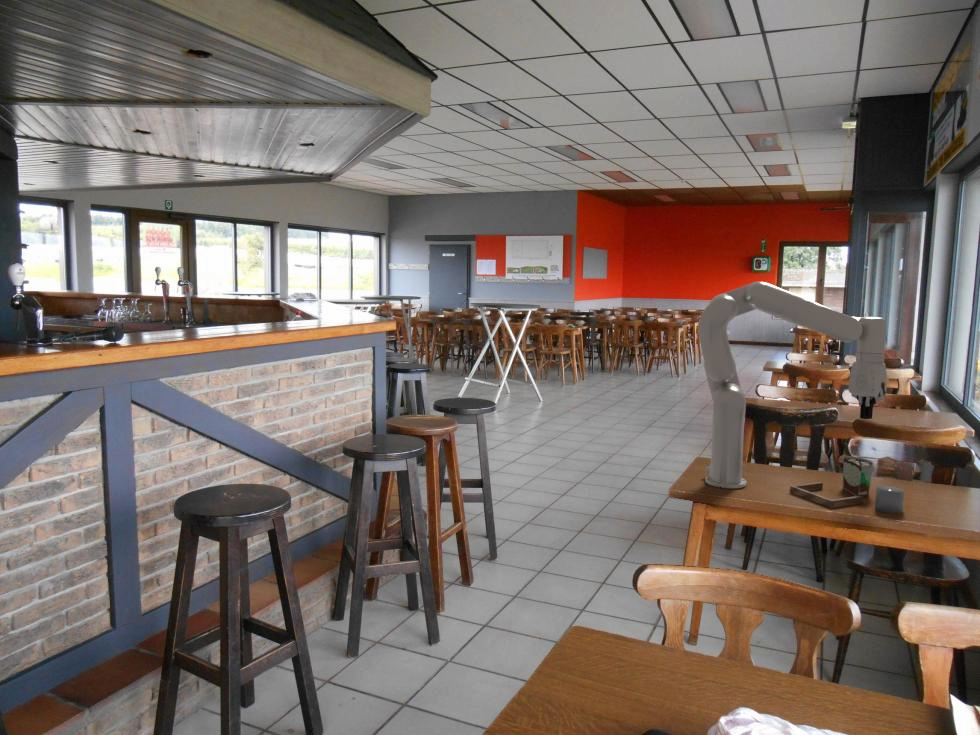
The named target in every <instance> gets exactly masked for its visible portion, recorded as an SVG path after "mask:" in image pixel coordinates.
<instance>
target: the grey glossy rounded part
mask: <svg viewBox="0 0 980 735" xmlns="http://www.w3.org/2000/svg"><path fill="white" fill-rule="evenodd" d="M875 488H876V489H875V498H874V499H875V502H874V509H875V510H876V511H878V512H881V513H885V514H890V515H891V514H892V515H897V514H902V513H903V511H904V502H905V490H904V489H902V488H900V487H897V486H896V487H895V486H891V485H879V486H876V487H875Z"/></svg>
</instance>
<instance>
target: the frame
mask: <svg viewBox="0 0 980 735" xmlns="http://www.w3.org/2000/svg"><path fill="white" fill-rule="evenodd" d="M823 486H824V483H823V482H821V481H818V482H812V483H811V482H810V483H804V484H803V483H802V484H797V485H796V484H795V485H790V486H789V487H790V488H789V493H791V494H793V495H797V496H798V497H802V498H803V499H807V500H810V501H811V502H815V503H817V504H820V505H822V506H825V507H828V508H830V507H831V508H830V509H833V508H835V509H836V508H840V507H848V506H854V505H861V504H863V503H864V497H863V496H855V495H854V496H849V497H848V496H847V497H842V498H836V499H831V498H828V497H824V496H822V495H819V494H817V493H814V492H812V491H819V490H823V488H824V487H823Z"/></svg>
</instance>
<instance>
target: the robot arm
mask: <svg viewBox="0 0 980 735" xmlns="http://www.w3.org/2000/svg"><path fill="white" fill-rule="evenodd" d="M756 310H758V311H759V312H762V313H765V314H768V315H771V316H774V317H776V318H778V319H780V320H783V321H785V322H787V323H790V324H793V325H796V326H798V327H803V328H807V329H809V330H813V331H815V332H816V333H817V332H818V333H820V334H823V335H825V336H828V337H831V338H833V339H835V340H838V341H840V342H843V343H846V344H847V343H849V344H850V343H853V342H855V341H856V352H855V353H854V355H853V356H854V357H855V361H853V362H852V365H851V369H850V373H849V381H848V393H850V395H851V397H853V398H854V399H856V400H857V401H858V405H859V406H860V410H859V411H860V413H859V419H863V420H872V419H873V413H874V412H873V410H874V407H875V406H876V404H877V403H880V402H884V401H885V396H886V394H887V389H888V388H887V385H888V378H887V376H888V374H887V367H886V364H885V354H886V353H885V351H886V337H887V325H888V324H887V323H888V322H887V320H886V319H885V318H884V317H880V316H863V317H857V316H850V315H848V314H845V313H842V312H840V311H837V310H835V309H832V308H829V307H828V306H824V305H822V304H820V303H818V302H815V300H814V301H813V300H812V299H810V298H807V297H804V296H802V295H799V294H797V293H794V292H792V291H788V290H787V289H783V288H781V287H779V286H776V285H774V284H771V283H769V282H765V281H754V282H751V283H749V284H746V285H742V286H740V287H737V288H735V289H732V290H729V291H726V292H723V293H719V294H717V295H715V296H714V297H713V298H712V299H711V300H710V302H709V304H708V305H707V306H706V307H705V309H704V310H703V311H702V312H701V315H700V317H699V321H698V324H697V332H698V333H697V335H698V340H699V345H700V348H701V349H700V350H701V353H702V354H701V355H702V356H703V367H704V372H705V376H706V379H707V382H708V387H709V391H710V395H711V399H712V403H713V406H712V422H711V423H712V428H711V447H710V448H711V454H710V464H709V465H708V466H705V467H704V470H705V471H706V472H708V475H707V476H706V477H705V480H704V481H705V483H706V484H707V485H708V486H712V487H715V488H720V487H721V488H720V489H742V488H744V487H746V486H747V480H746V479H745V478H743V460H744V458H743V456H744V455H743V454H744V453H743V452H744V433H745V418H746V409H747V403H746V402H747V401H746V396H745V393H744V391H742V388H741V383H740V380H739V376H738V375H739V374H738V373H737V364H736V360H735V359H734V357H733V353H732V349H731V346H730V342H729V337H728V333H727V331H728V330H727V329H728V328H727V327H728V324H729V323H730V322H731V321H732V320H734V319H735V318H736V317H738V316H741V315H744V314H747V313H750V312H753V311H756Z"/></svg>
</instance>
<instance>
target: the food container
mask: <svg viewBox="0 0 980 735" xmlns="http://www.w3.org/2000/svg"><path fill="white" fill-rule="evenodd" d="M841 461H842V463H843V464H842V469H843V470H842V489H843V490H845V491H847V492H849V493H850V494H852V495H853V496H854V497H855V496H863V498H865V497H868V496H869V494H870V489H871V487H870V486H871V481H872V475H873V472H875V471H876V469H875V468H876V467H875V464H874V462H873V461H872V460H870V459H867V458H862V457H858V456H857V457H856V456H847V455H845V456H844V455H843V457H842V460H841Z"/></svg>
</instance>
